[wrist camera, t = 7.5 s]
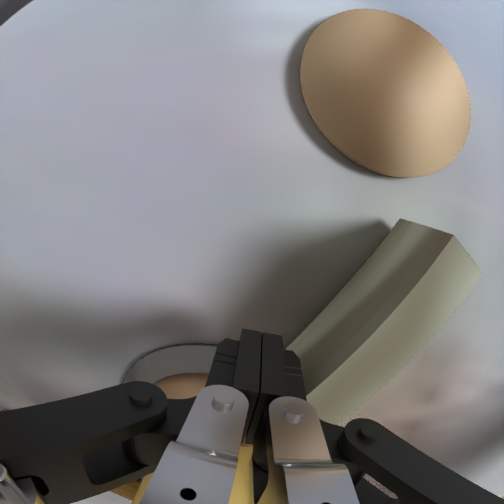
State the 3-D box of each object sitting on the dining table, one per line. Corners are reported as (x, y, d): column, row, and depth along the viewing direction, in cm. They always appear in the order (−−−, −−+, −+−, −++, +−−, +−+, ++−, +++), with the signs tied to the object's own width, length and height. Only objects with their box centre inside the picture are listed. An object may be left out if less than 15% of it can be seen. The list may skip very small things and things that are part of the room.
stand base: (350, 369, 14) (351, 371, 14) (286, 488, 17) (286, 490, 17) (119, 316, 15) (117, 317, 15) (128, 450, 18) (127, 452, 18)
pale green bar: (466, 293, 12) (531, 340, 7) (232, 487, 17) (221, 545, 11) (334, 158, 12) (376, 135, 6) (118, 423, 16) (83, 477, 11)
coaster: (464, 52, 10) (469, 49, 9) (454, 200, 12) (460, 200, 11) (313, -4, 10) (314, -10, 10) (283, 149, 12) (283, 147, 12)
